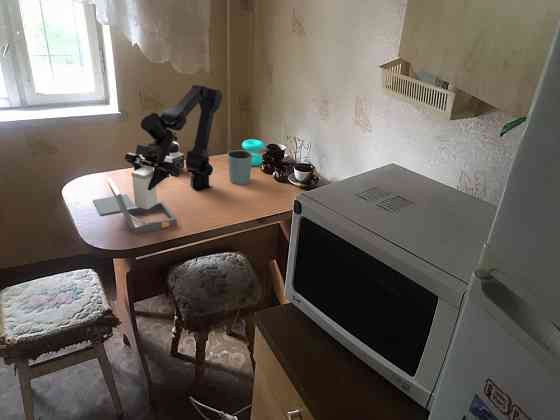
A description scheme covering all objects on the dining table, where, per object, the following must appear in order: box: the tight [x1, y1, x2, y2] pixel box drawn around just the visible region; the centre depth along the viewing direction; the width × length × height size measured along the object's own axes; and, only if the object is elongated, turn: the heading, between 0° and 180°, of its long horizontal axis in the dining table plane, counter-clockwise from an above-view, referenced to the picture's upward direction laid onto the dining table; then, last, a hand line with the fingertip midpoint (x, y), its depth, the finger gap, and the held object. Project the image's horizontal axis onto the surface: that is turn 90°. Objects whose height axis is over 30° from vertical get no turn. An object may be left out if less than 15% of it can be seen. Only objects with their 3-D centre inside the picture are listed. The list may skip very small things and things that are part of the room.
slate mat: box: [92, 193, 136, 217], centre depth 155 cm, size 12×12×1 cm
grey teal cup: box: [227, 149, 253, 186], centre depth 178 cm, size 10×10×12 cm
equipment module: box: [131, 167, 158, 209], centre depth 140 cm, size 5×5×12 cm
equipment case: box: [105, 176, 178, 235], centre depth 143 cm, size 18×15×15 cm
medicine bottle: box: [164, 141, 185, 172], centre depth 184 cm, size 7×7×12 cm
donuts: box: [241, 139, 265, 167], centre depth 198 cm, size 10×10×10 cm
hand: (141, 188), depth 139 cm, fingers closed on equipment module, 5 cm apart
